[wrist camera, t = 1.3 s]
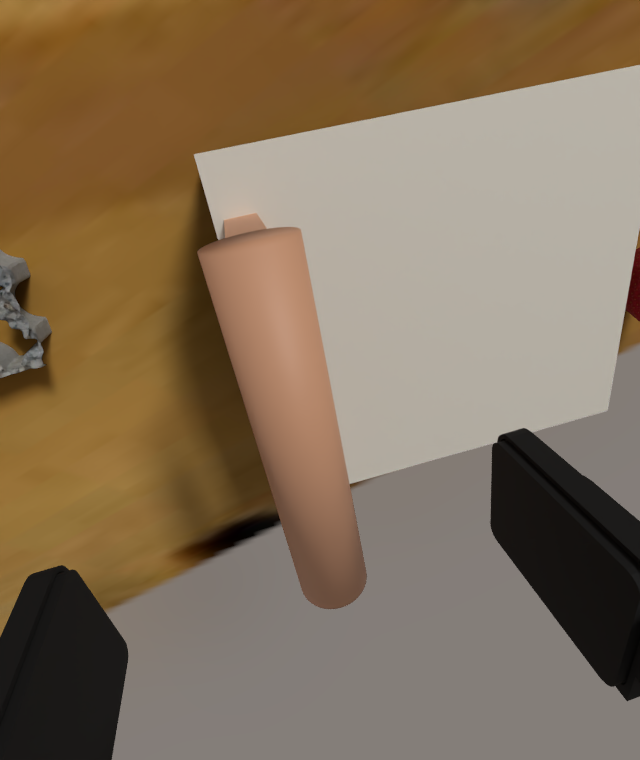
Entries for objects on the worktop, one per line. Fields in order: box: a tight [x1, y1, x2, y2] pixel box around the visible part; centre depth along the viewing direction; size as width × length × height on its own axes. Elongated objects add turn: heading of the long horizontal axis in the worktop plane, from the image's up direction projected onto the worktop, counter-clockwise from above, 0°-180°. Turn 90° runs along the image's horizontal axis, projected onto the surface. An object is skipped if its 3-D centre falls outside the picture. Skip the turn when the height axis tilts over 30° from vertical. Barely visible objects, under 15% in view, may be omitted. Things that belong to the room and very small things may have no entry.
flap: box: [194, 65, 640, 609], centre depth 16 cm, size 18×16×8 cm
